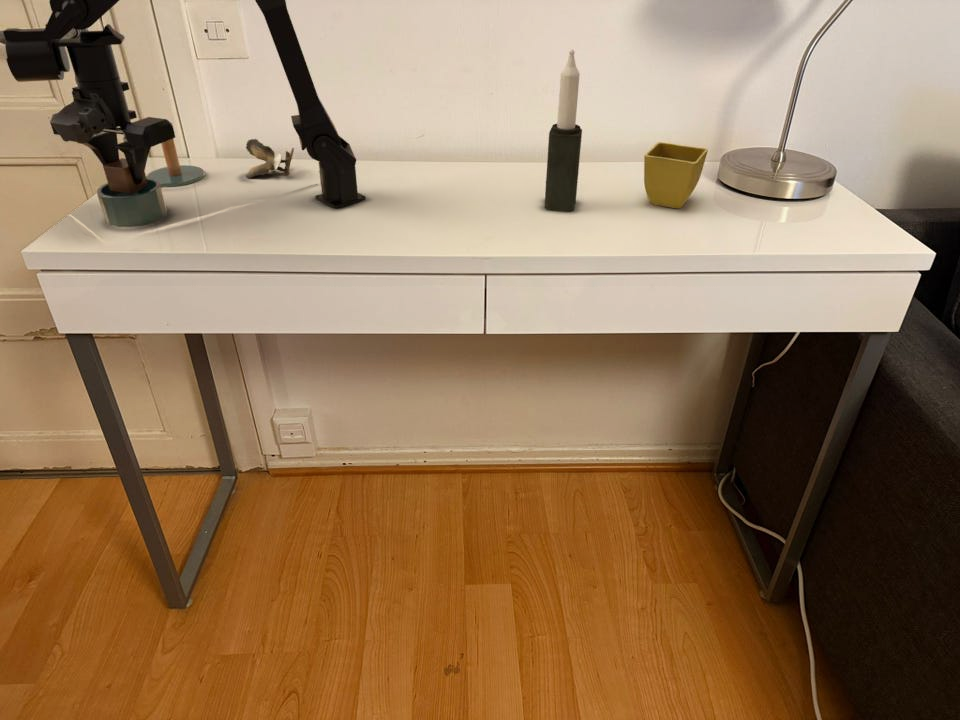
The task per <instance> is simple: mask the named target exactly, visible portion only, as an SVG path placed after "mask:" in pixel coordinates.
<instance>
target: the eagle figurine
mask: <svg viewBox="0 0 960 720" xmlns="http://www.w3.org/2000/svg"><path fill="white" fill-rule="evenodd" d="M245 149H246V150H247V153H248V152H249V154H250V155H251V156H254V157H255V158H256V159H258V160H260V161H263V162H264V163H262V164H257V165H255V166H253V167H251V168H250V169H249V171H248V172H247V173H246V174H245V178H246V179H251V178H254V177H256V176H259V175H260V176H264V175H266V174H268V173H270V172H275V170H276V171H279V172H282V173H284V174H285V176H290V169H291V168H290V167H291V163H292V159H293V156H294V151H295V148H294V147H292V148H291V150H290V152H289V151H288V150H285V158H284V159H283V155H282V153H281V152H278V153H277V155H275V151H274V150H273V149H272V148H271V147H270V145H264V143H262V142H260V141H259V140H258V139H256V138H251V139H248V141H247V142H246V144H245ZM281 164H284V168H283V167H282V166H280V165H281Z"/></svg>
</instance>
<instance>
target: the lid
mask: <svg viewBox="0 0 960 720" xmlns="http://www.w3.org/2000/svg"><path fill="white" fill-rule="evenodd" d="M160 144H161V148H162V152H163V157H164V160H165V165H166V166H165V167H161V168H158V169H154V170H153V171H150V172H149V173H147V174H146V178H152V179H156V180H157V181H159V182H160V184H161V188H162V187H163V188H167V187H169V188H171V187H180V186H181V187H182V186H186V185H190V184H194V183H196V182H198V181H201V180H202V179H203V178H204V177H205V175H206V174H205V171H204V169H203V168H202V167H200V166H195V165H187V164H184V165H183V164H182V165H180V160H179V155H178V152H177V148H176V143H175V138H173V139H170V140H168V141H165V142H163V143H160Z"/></svg>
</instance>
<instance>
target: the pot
mask: <svg viewBox="0 0 960 720" xmlns="http://www.w3.org/2000/svg"><path fill="white" fill-rule="evenodd" d="M147 182H148V186H146V187H144V188H142V189H140V190H138V191H135V192H133V193H131V194H128V193H122V192H116V191H110V188H109V185H108V182H106V183H104V184H102V185H101V186H100V187H97V191H96V195H97V198H98V201H99V204H100V209H101V211H102V214H103V217H104V221H105V222H106V223H107V224H108V225H110V226H113V227H119V228H124V227H125V228H127V227H128V228H131V227H132V228H133V227H140V226H146V225H149V224H153V223H156V222H158V221H159V220H162V219H164V217H166V216H167V215H168V209H167V204H166V201H165V196H164V193H163V188H162V187H161V184H160V182H159V181H157V180H156V179H152V178H147Z"/></svg>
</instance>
